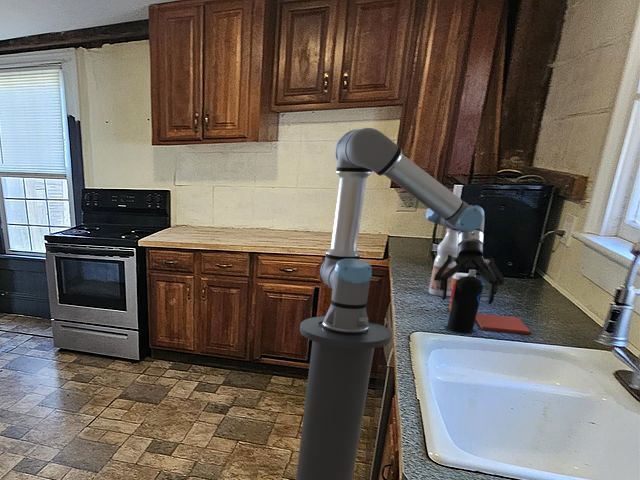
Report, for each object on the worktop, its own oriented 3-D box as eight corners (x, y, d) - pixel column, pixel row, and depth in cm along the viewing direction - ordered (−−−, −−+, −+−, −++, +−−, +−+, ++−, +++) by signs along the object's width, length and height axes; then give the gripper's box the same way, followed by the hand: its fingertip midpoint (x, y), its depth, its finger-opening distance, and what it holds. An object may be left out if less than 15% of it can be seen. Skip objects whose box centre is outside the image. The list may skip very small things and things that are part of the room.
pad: (481, 329, 177) (482, 326, 176) (473, 315, 192) (474, 313, 192) (530, 334, 172) (531, 331, 172) (518, 320, 188) (518, 317, 187)
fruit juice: (423, 291, 228) (436, 225, 218) (443, 291, 229) (457, 225, 219) (437, 297, 219) (451, 228, 209) (457, 296, 220) (472, 228, 210)
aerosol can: (451, 332, 173) (464, 272, 166) (442, 325, 181) (454, 267, 174) (477, 333, 172) (492, 273, 165) (467, 326, 180) (481, 268, 173)
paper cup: (457, 308, 202) (465, 272, 197) (473, 313, 195) (482, 276, 190) (440, 309, 200) (448, 273, 195) (456, 315, 193) (464, 277, 188)
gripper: (432, 237, 180) (427, 289, 173) (516, 242, 172) (515, 297, 164) (427, 250, 187) (423, 301, 179) (508, 255, 179) (507, 309, 171)
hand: (467, 299), depth 172 cm, fingers open, 13 cm apart
